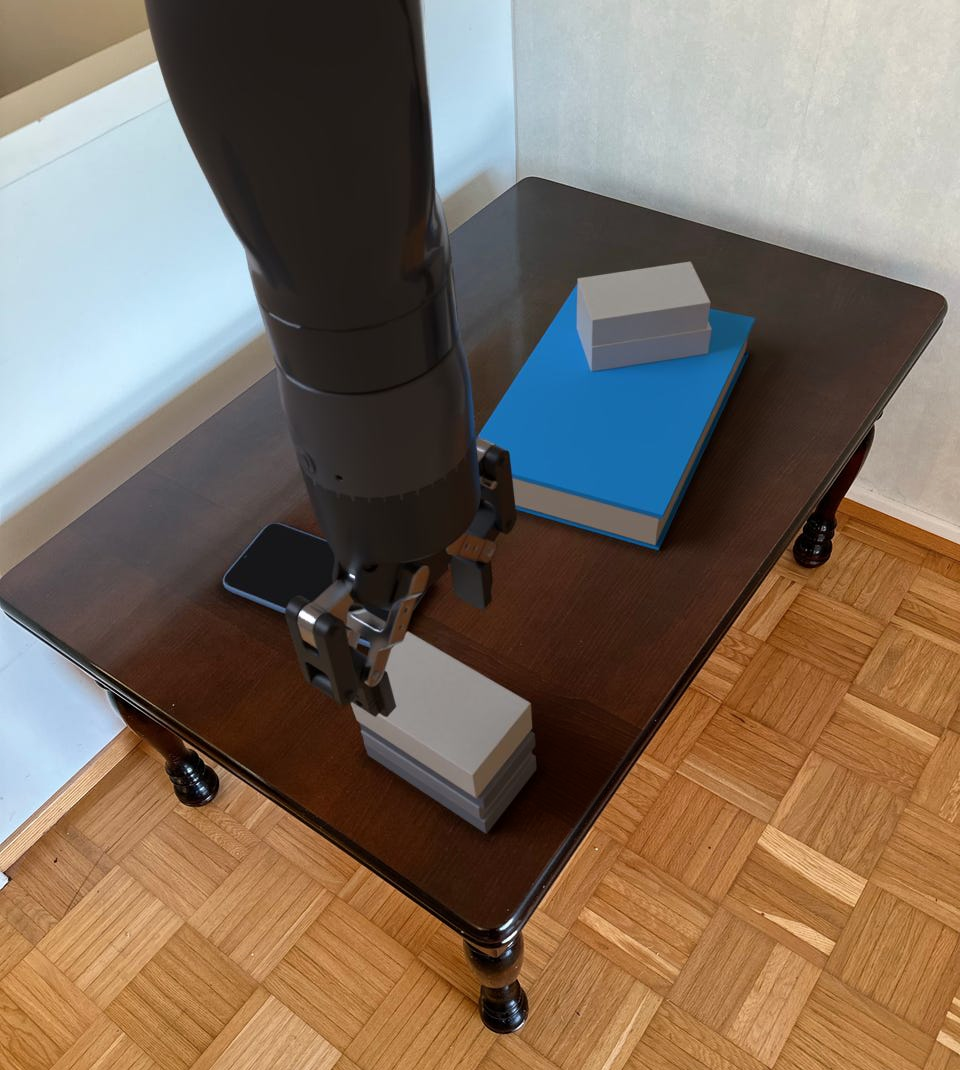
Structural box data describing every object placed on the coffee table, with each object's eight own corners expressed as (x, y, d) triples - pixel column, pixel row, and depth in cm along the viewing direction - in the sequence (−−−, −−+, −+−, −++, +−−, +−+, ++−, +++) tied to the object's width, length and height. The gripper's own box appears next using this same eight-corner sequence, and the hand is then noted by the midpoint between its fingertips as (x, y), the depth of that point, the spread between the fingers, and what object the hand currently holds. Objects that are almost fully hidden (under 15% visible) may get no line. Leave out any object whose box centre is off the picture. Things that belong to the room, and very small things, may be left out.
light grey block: (532, 728, 58) (531, 702, 55) (476, 798, 55) (472, 775, 53) (413, 657, 62) (407, 630, 59) (356, 720, 59) (347, 695, 57)
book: (756, 316, 81) (667, 512, 68) (747, 357, 85) (661, 552, 72) (570, 279, 86) (455, 456, 73) (569, 320, 90) (459, 495, 77)
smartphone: (383, 649, 67) (215, 582, 72) (385, 655, 68) (219, 589, 73) (432, 575, 71) (270, 516, 75) (433, 582, 71) (272, 523, 76)
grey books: (538, 769, 62) (536, 732, 58) (487, 835, 59) (482, 800, 55) (419, 696, 66) (409, 656, 62) (367, 755, 63) (354, 717, 59)
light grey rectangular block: (688, 311, 82) (695, 259, 78) (708, 354, 79) (716, 302, 75) (576, 328, 82) (577, 277, 78) (591, 371, 78) (592, 320, 74)
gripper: (336, 577, 34) (398, 781, 47) (555, 362, 40) (556, 595, 53) (195, 495, 37) (290, 709, 50) (420, 307, 43) (452, 541, 56)
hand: (427, 650), depth 52 cm, fingers open, 8 cm apart
